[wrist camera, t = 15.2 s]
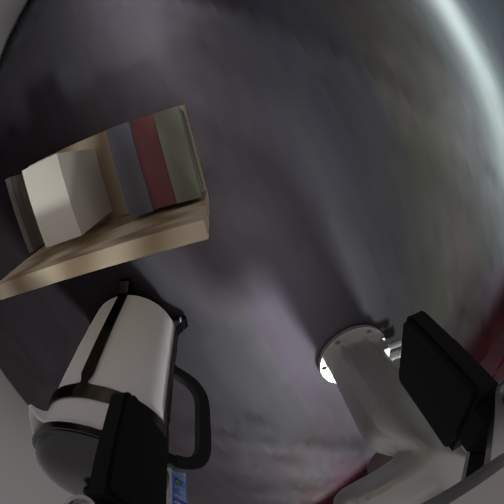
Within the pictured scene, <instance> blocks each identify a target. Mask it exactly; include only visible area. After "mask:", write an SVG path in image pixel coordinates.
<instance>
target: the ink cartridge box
mask: <svg viewBox="0 0 504 504" xmlns="http://www.w3.org/2000/svg"><path fill="white" fill-rule="evenodd" d="M167 470H168V473H169V486H168V488H167V494H166V504H187V491H186V473H182V472H177V471H174V470H172V468H169V467H168V468H167Z"/></svg>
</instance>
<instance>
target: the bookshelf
mask: <svg viewBox="0 0 504 504" xmlns="http://www.w3.org/2000/svg"><path fill="white" fill-rule="evenodd" d="M87 149H95V151H96V155H97V159H98V163H99V167H100V170H101V174H102V177H103V181H104V184H105V188H106V191H107V194H108V198H109V201H110V204H111V207H112V210H113V211H112V212H110V213H109V214H108V215H106V216H105V217H104V218H103V219H101V220H100V221H99V222H98V223H96V224H95V225H94V226H93V227H91V228H90V229H89V230H88V231H87V232H85V233H84V234H83V235H82V236H79V237H76V238H73V239H70V240H67V241H64V242H61V243H59V244H56V245H53V246H50V247H48V248H46V246H45V245H44V246H43V247H42V248H40V249H39V250H38V251H37V252H35V253H34V254H33V255H31V256H30V257H29V258H28V259H26V260H25V261H24V262H23V263H21V264H20V265H19V266H18V267H16V268H15V269H14V270H13V271H12V272H10V273H9V274H8V275H7V276H6V277H4V278H3V279H2V280H1V281H0V299H1V300H2V299H5V298H8V297H11V296H14V295H18V294H21V293H24V292H27V291H30V290H34V289H37V288H40V287H43V286H46V285H50V284H53V283H56V282H60V281H63V280H66V279H69V278H73V277H76V276H80V275H83V274H86V273H90V272H93V271H96V270H100V269H103V268H107V267H110V266H114V265H117V264H120V263H124V262H127V261H131V260H134V259H138V258H141V257H145V256H149V255H152V254H156V253H159V252H163V251H166V250H170V249H174V248H177V247H181V246H185V245H188V244H192V243H196V242H199V241H203V240H207V239H209V206H210V199H209V196H208V192H207V188H206V184H205V181H204V177H203V173H202V169H201V165H200V162H199V158H198V154H197V150H196V146H195V142H194V138H193V135H192V131H191V127H190V123H189V119H188V115H187V111H186V107H185V105H184V104H183V105H180V106H175V107H171V108H168V109H165V110H161V111H158V112H155V113H153V114H150V115H147V116H144V117H141V118H138V119H136V120H133V121H130V122H129V121H128V122H125V123H122V124H120V125H117V126H114V127H112V128H109V129H107V130H106V131H103V132H101V133H98V134H96V135H94V136H91V137H89V138H86V139H84V140H82V141H80V142H77V143H75V144H73V145H71V146H68V147H66V148H64V149H62V150H60V151H58V152H56V153H63V152H70V151H78V150H87ZM56 153H54V154H56ZM54 154H52V155H54ZM52 155H50V156H52ZM50 156H47V157H45V158H44V159H46V158H48V157H50ZM44 159H42V160H44ZM42 160H40V161H42ZM40 161H38V162H40ZM38 162H36V163H38ZM36 163H34V164H36ZM34 164H32V165H34ZM32 165H30V166H32ZM30 166H28V167H30ZM5 181H6V185H7V189H8V192H9V196H10V199H11V202H12V206H13V209H14V212H15V215H16V218H17V221H18V224H19V227H20V230H21V232H22V235H23V238H24V241H25V243H26V246H27V248H28V251H29V253H30V252H33V251H35V250H36V249H37V248H39V247H40V246H41V245H43V244H44V241H43V238H42V235H41V232H40V230H39V227H38V224H37V221H36V218H35V215H34V212H33V209H32V205H31V202H30V199H29V196H28V192H27V189H26V185H25V181H24V178H23V174H20V175H16V176H12V177H9V178H8V179H6V180H5Z"/></svg>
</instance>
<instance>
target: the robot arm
mask: <svg viewBox="0 0 504 504" xmlns="http://www.w3.org/2000/svg"><path fill="white" fill-rule="evenodd" d="M399 346H400V347H399ZM397 347H398V348H397ZM394 348H396V349H394ZM391 349H394V350H392V351H390V350H391ZM398 358H401V359H400V368H399V370H398V368H397V367H396V366H395V364H394V363H393V362H392V360H395V359H398ZM318 366H319V370H320V372H321V374H322V376H323V377H324V378H325V379H326V380H327V381H329V382H332V383H336V384H337V386H338V388H339V390H340V392H341V394H342V396H343V398H344V400H345V403H346V405H347V407H348V409H349V411H350V413H351V415H352V417H353V419H354V421H355V423H356V425H357V427H358V429H359V431H360V433H361V435H362V437H363V439H364V441H365V443H366V444H367V445H368V446H369V447H370V448H371V449H373V450H375V451H376V452H379V453H382V454H386V455H390V456H394V458H393V459H392V460H391V461H389V462H388V463H387V464H385V465H384V466H382V467H381V468H379V469H378V470H376V471H374V472H372V473H370V474H369V475H367V476H365V477H363V478H361V479H359V480H358V481H356V482H354V483H352V484H350V485H348V486H347V487H345V488H343V489H342V490H341V491H340V492H339V493H338V494H337V495H336V496H335V498H334V501H333V504H504V380H502V381H501V382H500V383H499V384H498V383H497V382H496V381H495V380H494V379H493V378H492V377H491V376H490V374H489V373H488V372H486V370H485V369H484V368H483V367H482V366H481V365H480V364H479V363H478V362H477V361H476V360H475V359H474V358H473V357H472V356H471V355H470V354H469V353H468V352H467V351H466V350H465V349H464V348H463V347H462V346H461V345H460V344H459V343H458V342H457V341H456V340H454V339H453V338H452V337H451V336H450V335H449V334H448V333H447V332H446V331H445V330H443V329H442V328H441V327H440V326H439V325H438V324H437V323H436V322H435V321H434V320H433V319H432V318H431V317H430V316H429V315H427V314H426V313H425V312H424V311H420V312H418V313H416V314H413V315H411V316H409V317H408V318H407V321H406V322H405V323H404V325H403V337H402V346H401V340H400V339H397V340H394V341H392V342H390V343H387V342H386V339H385V337H384V335H383V333H382V332H381V331H380V330H379V329H378V328H377V327H374V326H372V325H367V324H361V325H356V326H352V327H349V328H347V329H345V330H343V331H341V332H340V333H338V334H337V335H335V336H334V337H333V338H332V339H331V340H329V342H328V343H327V344H326V345H325V347H324V348H323V350H322V351H321V354H320V356H319V361H318ZM461 445H463V446H464V448H465V449H466V451H467V452H465V451H464V450H463V448H462V447H461ZM168 450H169V445H168V441H167V438H166V437H165V436H164V434H163V433H162V432H161V430H160V429H159V428H158V426H157V425H156V424H155V422H154V421H153V420H152V418H151V417H150V416H149V414H148V413H147V411H146V410H145V409H144V407H143V406H142V404H141V403H140V401H139V400H138V399H137V397H136V396H135V395H131V394H130V393H129V392H123V393H115V394H113V395H112V396H111V399H110V403H109V406H108V410H107V414H106V417H105V421H104V425H103V429H102V432H101V435H100V438H99V442H98V446H97V450H96V455H95V459H94V463H93V468H92V472H91V477H90V482H89V487H88V492H87V496H85V495H74V496H72V497H70V498H69V499H68V500H66V502H65V503H64V504H166V494H167V468H168Z"/></svg>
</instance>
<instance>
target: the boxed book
mask: <svg viewBox="0 0 504 504" xmlns="http://www.w3.org/2000/svg"><path fill="white" fill-rule="evenodd" d="M22 174H23V178H24V181H25V185H26V189H27V192H28V196H29V199H30V202H31V205H32V209H33V212H34V215H35V218H36V221H37V224H38V227H39V230H40V232H41V235H42V238H43V241H44V243H45V246H46V248H48V247H50V246H53V245H56V244H59V243H61V242H64V241H67V240H70V239H73V238H76V237H79V236H82V235H83V234H84V233H85V232H87V231H88V230H89V229H90V228H91V227H93V226H94V225H95V224H96V223H98V222H99V221H100V220H101V219H103V218H104V217H105V216H106V215H108V214H109V213H110V212H112V211H113V210H112V207H111V204H110V201H109V198H108V194H107V191H106V188H105V184H104V181H103V177H102V174H101V170H100V167H99V163H98V159H97V155H96V151H95V149H87V150H78V151H70V152H63V153H56V154H54V155H52V156H50V157H48V158H46V159H44V160H42V161H40V162H38V163H36V164H34V165H32V166H30V167H28V168H26V169H24V170H23V171H22Z"/></svg>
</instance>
